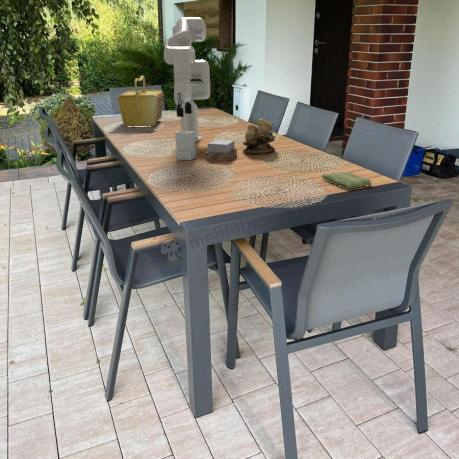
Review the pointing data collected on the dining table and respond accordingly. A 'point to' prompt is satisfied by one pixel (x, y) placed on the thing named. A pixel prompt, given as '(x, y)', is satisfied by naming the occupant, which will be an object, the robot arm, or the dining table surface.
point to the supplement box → (185, 145)
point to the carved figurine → (259, 138)
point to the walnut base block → (221, 155)
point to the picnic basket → (140, 106)
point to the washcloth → (346, 180)
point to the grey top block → (221, 146)
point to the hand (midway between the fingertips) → (184, 115)
